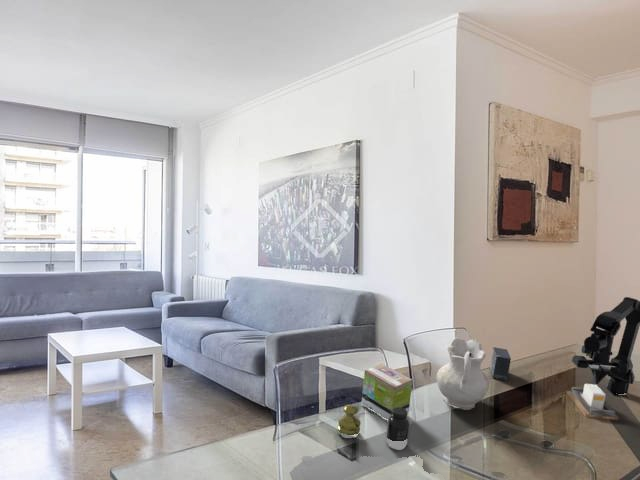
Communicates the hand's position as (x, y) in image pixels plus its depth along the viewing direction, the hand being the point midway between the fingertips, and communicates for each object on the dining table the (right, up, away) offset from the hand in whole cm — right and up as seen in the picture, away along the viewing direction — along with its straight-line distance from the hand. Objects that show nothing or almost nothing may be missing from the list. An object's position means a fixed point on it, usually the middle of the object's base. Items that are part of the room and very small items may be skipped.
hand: (595, 383), depth 194 cm
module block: (-1, -8, +2) cm, 8 cm away
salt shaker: (-99, -8, -28) cm, 103 cm away
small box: (-30, -3, +24) cm, 38 cm away
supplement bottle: (-83, -10, -33) cm, 90 cm away
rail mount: (-1, -9, +2) cm, 10 cm away
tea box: (-85, -6, -13) cm, 86 cm away
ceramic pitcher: (-54, -7, -4) cm, 55 cm away
